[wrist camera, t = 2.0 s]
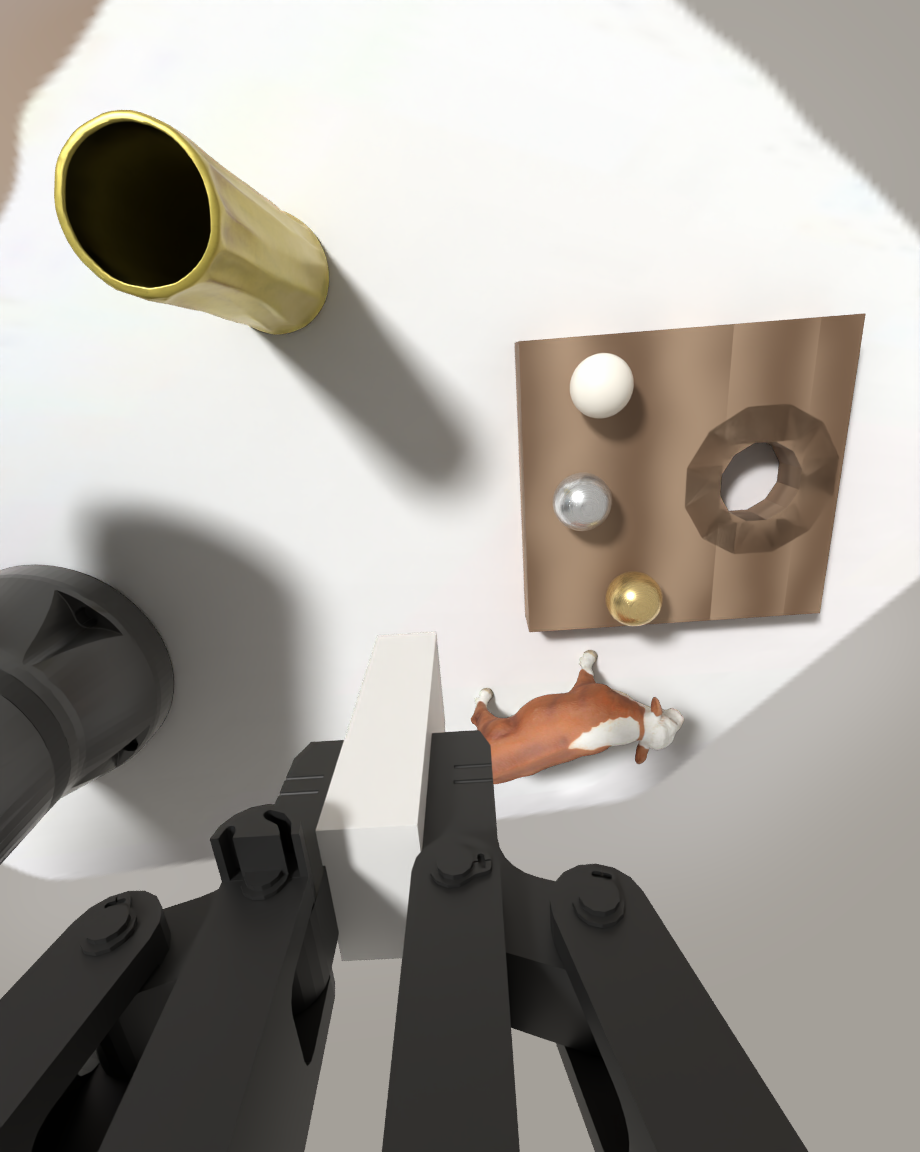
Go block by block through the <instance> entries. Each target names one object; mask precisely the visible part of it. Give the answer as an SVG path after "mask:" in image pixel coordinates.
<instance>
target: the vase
mask: <svg viewBox="0 0 920 1152" xmlns="http://www.w3.org/2000/svg"><path fill="white" fill-rule="evenodd" d="M54 198H55V208H56V213H57V216H58V220H59V223H60V225H61V228H62V230H63V232H64V235H65V237H66V239H67V241H68V243H69V244H70V246H71V247H72V249H73V251H74V252H75V254H76V255H77V256H78V257H79V259H80V260H81V261H82V262H83V263H84V264H85V265H86V266H87V267H88V268H89V269H90V270H91V271H92V272H93V273H94V274H96V275H97V276H98V277H99V278H100V279H101V280H103V281H104V282H105V283H106V284H108V285H109V286H111V287H113V288H114V289H116V290H118V291H121V292H125V293H128V294H131V295H134V296H137V297H140V298H142V299H145V300H148V301H153V302H158V303H164V304H170V305H174V306H178V307H183V308H187V309H192V310H198V311H203V312H206V313H209V314H212V315H215V316H218V317H221V318H223V319H226V320H230V321H233V322H236V323H242V324H246V325H249V326H250V327H252V328H255V329H257V330H259V331H262V332H265V333H269V334H274V335H277V334H287V333H291V332H294V331H296V330H299V329H301V328H303V327H305V326H307V325H308V324H309V323H310V322H311V321H312V320H313V319H314V318H315V317H316V316H317V314H318V313H319V312H320V310H321V309H322V307H323V305H324V303H325V300H326V297H327V292H328V286H329V270H328V264H327V259H326V256H325V253H324V251H323V249H322V246H321V244H320V243H319V241H318V239H317V238H316V236H315V235H314V233H313V232H312V231H311V229H309V228H308V227H307V226H306V225H305V224H304V223H303V222H302V221H300V220H299V219H297V218H296V217H294V216H292V215H291V214H289V213H287V212H284V211H281V210H280V209H279V208H278V207H277V206H276V205H275V204H273V203H272V202H271V201H270V200H268V199H267V198H265V197H264V196H262V195H261V194H259V193H258V192H257V191H256V190H254V189H253V188H252V187H250V186H249V185H248V184H246V183H245V182H243V181H242V180H240V179H239V178H238V177H236V176H235V175H234V174H232V173H231V172H230V171H228V170H227V169H226V168H224V167H223V166H222V165H220V164H219V163H218V162H217V161H215V160H214V159H213V158H212V157H210V156H209V155H208V154H207V153H206V152H204V151H203V150H202V149H201V148H200V147H198V146H197V145H196V144H195V143H194V142H193V141H191V140H190V139H189V138H188V137H186V136H185V135H184V134H182V133H181V132H179V131H178V130H176V129H175V128H173V127H172V126H170V125H168V124H166V123H164V122H162V121H160V120H158V119H156V118H154V117H152V116H149V115H147V114H144V113H141V112H137V111H132V110H117V111H109V112H106V113H102V114H100V115H99V116H97V117H95V118H93V119H91V120H89V121H88V122H86V123H84V124H83V125H81V126H80V127H79V128H77V129H76V130H75V131H74V132H73V133H72V135H71V136H70V137H69V139H68V140H67V142H66V143H65V145H64V147H63V148H62V150H61V152H60V155H59V157H58V160H57V163H56V169H55V188H54Z"/></svg>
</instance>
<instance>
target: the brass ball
mask: <svg viewBox="0 0 920 1152" xmlns="http://www.w3.org/2000/svg"><path fill="white" fill-rule="evenodd" d="M662 601H663V596H662V592H661V589H660V587H659V585H658V584H657V582H656V581H655V580H654V579H653V578H652V577H650V576H649V575H647V574H644V573H642V572H635V571H633V572H626V573H623V574H621V575H619V576H617V577H616V578H615V579H614V580H613V581H612V582H611V583H610V585H609V586H608V589H607V591H606V606H607V608H608V611H609V612H610V614H611V615H612V616H613V618H614V619H616V620H617V621H618V622H620V623H622V624H625V625H628V626H641V625H644V624H647V623H649V622H650V621H652V620H653V619H654V618H655V617H656V616H657V615H658V613H659V611H660V609H661V607H662Z"/></svg>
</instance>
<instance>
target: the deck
mask: <svg viewBox="0 0 920 1152" xmlns="http://www.w3.org/2000/svg"><path fill="white" fill-rule="evenodd" d="M864 320H865V314H854V315H841V316H829V317H817V318H804V319H792V320H779V321H767V322H754V323H742V324H730V325H717V326H705V327H692V328H680V329H667V330H655V331H643V332H630V333H618V334H605V335H593V336H580V337H568V338H556V339H543V340H531V341H519V342H516V343H515V364H516V389H517V415H518V440H519V466H520V492H521V517H522V543H523V568H524V594H525V617H526V620H527V624H528V628H529V632H540V631H556V630H571V629H586V628H601V627H616V626H628V625H625V624H622V623H620V622H618V621H617V620H616V619H614V618H613V616H612V615H611V614H610V612H609V611H608V608H607V606H606V591H607V589H608V586H609V585H610V583H611V582H612V581H613V580H614V579H615V578H616V577H617V576H619V575H621V574H623V573H626V572H633V571H635V572H642V573H644V574H647V575H649V576H650V577H652V578H653V579H654V580H655V581H656V582H657V584H658V585H659V587H660V589H661V592H662V596H663V601H662V607H661V609H660V611H659V613H658V615H657V616H656V617H655V618H654V619H653V620H652V621H650V622H649V623H647V624H661V623H676V622H691V621H706V620H721V619H736V618H751V617H767V616H782V615H797V614H812V613H820V609H821V602H822V596H823V589H824V583H825V576H826V569H827V563H828V556H829V550H830V543H831V537H832V530H833V524H834V517H835V510H836V504H837V497H838V491H839V484H840V478H841V471H842V465H843V458H844V452H845V445H846V438H847V432H848V425H849V419H850V412H851V406H852V399H853V393H854V386H855V379H856V373H857V366H858V360H859V353H860V347H861V340H862V334H863V327H864ZM599 353H609V354H613V355H616V356H618V357H620V358H621V359H623V360H624V361H625V362H626V363H627V364H628V366H629V367H630V369H631V371H632V375H633V379H634V387H633V393H632V395H631V398H630V400H629V402H628V403H627V405H626V406H625V407H624V408H623V409H622V410H621V411H619V412H618V413H616V414H615V415H613V416H610V417H607V418H592V417H589V416H586V415H584V414H583V413H582V412H580V411H579V410H578V409H577V408H576V406H575V405H574V403H573V401H572V399H571V395H570V381H571V377H572V375H573V373H574V371H575V369H576V368H577V366H578V365H579V364H580V363H581V362H582V361H583V360H585V359H586V358H588V357H590V356H592V355H595V354H599ZM764 442H766V443H768V444H770V445H771V446H772V448H773V450H774V452H775V454H776V456H777V458H778V460H779V468H778V477H777V482H776V484H775V485H774V487H773V488H772V490H771V491H770V493H769V494H768V496H767V497H766V499H764V500H763V501H761V502H759V503H758V504H756V505H754V506H753V507H751V508H749V509H748V510H735V511H728V509H727V507H726V506H725V504H724V502H723V500H722V498H721V496H720V492H721V479H722V474H723V472H724V471H725V469H726V468H727V466H728V464H729V463H730V461H731V460H732V458H733V457H734V455H736V454H737V453H739V452H741V451H742V450H744V449H745V448H747V447H749V446H750V445H752V444H754V443H764ZM576 473H591V474H594V475H596V476H598V477H600V478H601V479H602V480H603V481H604V482H605V483H606V484H607V486H608V487H609V489H610V492H611V496H612V507H611V510H610V513H609V515H608V517H607V518H606V519H605V521H604V522H603V523H602V524H600V525H599V526H598V527H596V528H594V529H591V530H587V531H576V530H572V529H570V528H568V527H566V526H564V525H563V524H562V523H561V522H560V521H559V520H558V518H557V517H556V515H555V512H554V509H553V496H554V493H555V490H556V488H557V486H558V485H559V484H560V483H561V482H562V481H563V480H564V479H565V478H566V477H568V476H570V475H572V474H576ZM644 625H646V624H644Z"/></svg>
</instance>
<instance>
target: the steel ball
mask: <svg viewBox="0 0 920 1152" xmlns="http://www.w3.org/2000/svg"><path fill="white" fill-rule="evenodd" d="M611 507H612V496H611V492H610V489H609V487H608V486H607V484H606V483H605V482H604V481H603V480H602V479H601V478H600V477H598V476H596V475H594V474H591V473H576V474H572V475H570V476H568V477H566V478H565V479H564V480H563V481H562V482H561V483H560V484H559V485H558V486H557V488H556V490H555V493H554V496H553V509H554V512H555V515H556V517H557V518H558V520H559V521H560V522H561V523H562V524H563V525H564V526H566V527H568V528H570V529H572V530H576V531H587V530H591V529H594V528H596V527H598V526H599V525H600V524H602V523H603V522H604V521H605V519H606V518H607V517H608V515H609V513H610V510H611Z"/></svg>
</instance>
